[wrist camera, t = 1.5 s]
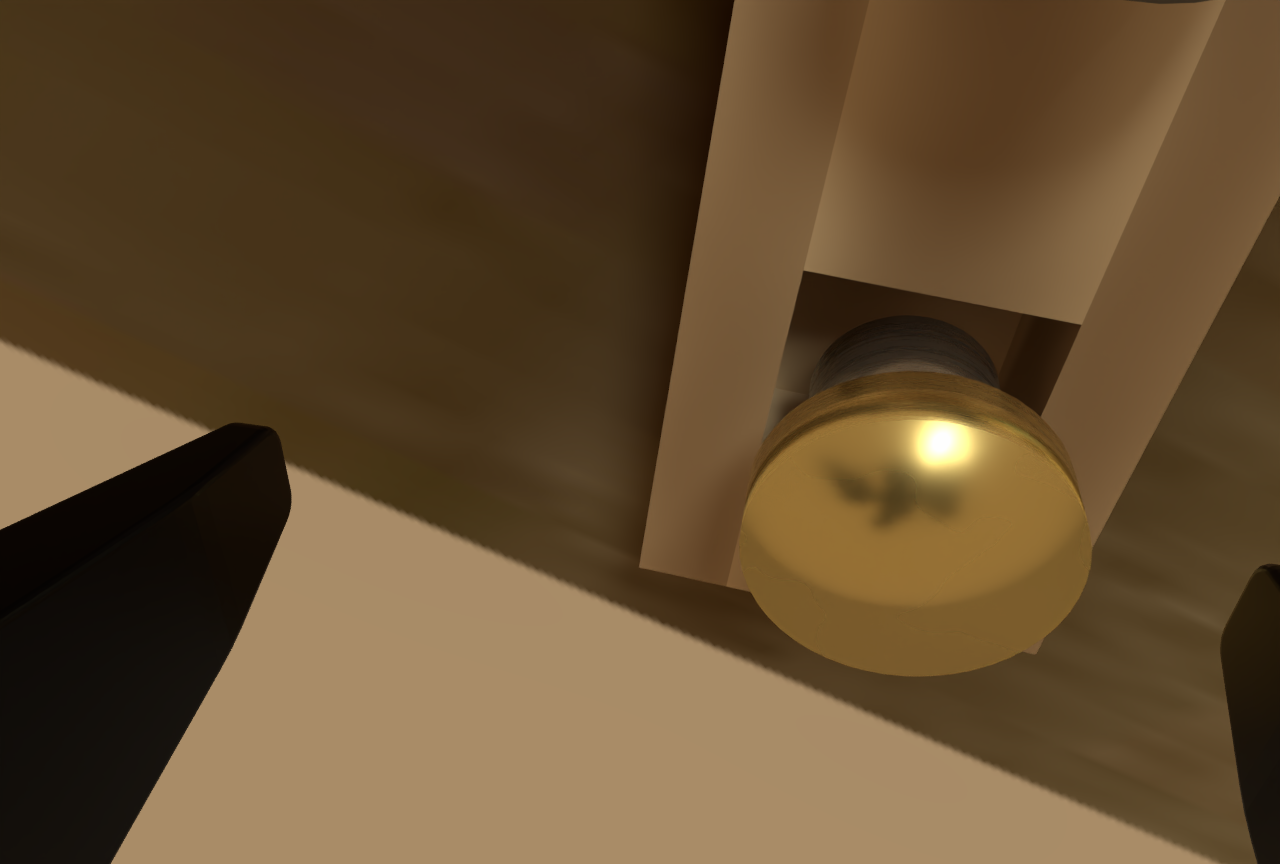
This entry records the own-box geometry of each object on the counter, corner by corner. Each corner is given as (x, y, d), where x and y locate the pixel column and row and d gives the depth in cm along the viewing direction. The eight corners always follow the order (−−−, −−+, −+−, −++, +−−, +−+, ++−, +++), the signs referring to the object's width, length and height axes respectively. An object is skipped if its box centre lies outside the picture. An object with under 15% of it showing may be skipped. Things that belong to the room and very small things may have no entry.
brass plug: (1095, 304, 16) (1151, 464, 13) (995, 527, 19) (1020, 704, 16) (795, 245, 17) (775, 387, 13) (741, 473, 20) (713, 636, 16)
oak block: (1622, -804, 11) (1909, -989, 8) (1014, 522, 24) (1035, 654, 20) (906, -884, 12) (916, -1087, 9) (670, 450, 24) (639, 567, 21)
